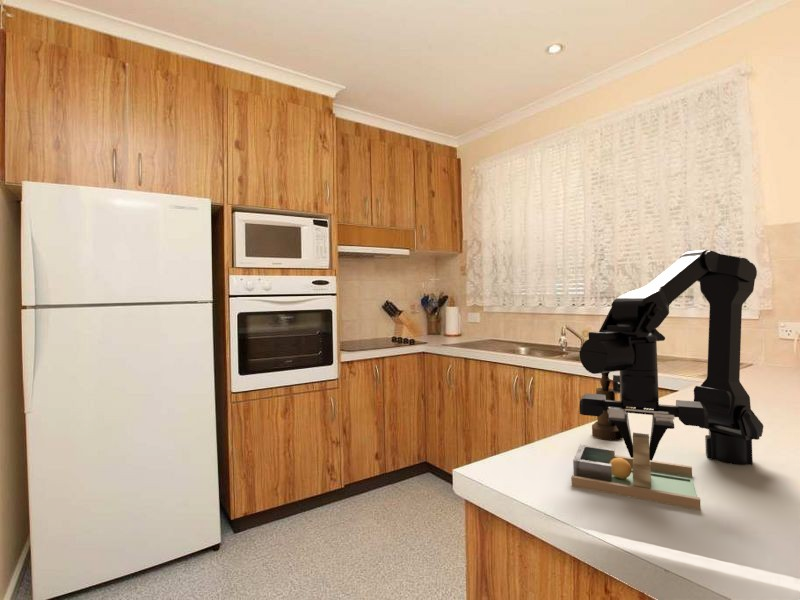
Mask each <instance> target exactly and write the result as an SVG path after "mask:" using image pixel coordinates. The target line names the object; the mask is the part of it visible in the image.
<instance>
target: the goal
mask: <svg viewBox="0 0 800 600" xmlns="http://www.w3.org/2000/svg"><path fill="white" fill-rule="evenodd" d="M615 451H616V448H610V447H601V446H596V445H588V444H581V443H580V444H579V446H578V449H577V451H576V453H575V455H574V458H573V460H572V462H573V463H572V464H573V476H579V477H585V478H590V479H596V480H602V481H608V482H612V464H609V463H610V461H611V460H612V459H614V458H615V455H616V452H615Z"/></svg>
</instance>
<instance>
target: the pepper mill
mask: <svg viewBox="0 0 800 600" xmlns="http://www.w3.org/2000/svg"><path fill="white" fill-rule="evenodd" d="M610 373H611V372H606V373H600V374H601V378H599V382H600V387H597V388H595V394H602V395H605V397H606V400H611V401H616V393H614V392H613V387H612V388H611V387H610V384H611V378H610V376H609V374H610ZM608 416H609V413H608V411H604V413H602V414H601V415H600V416H599V417H598V416H596V417H597V418H596V419H597V421H595V422H594V423H592V425H591V434H592V436H593V437H594V438H596V439H598V440H604V441H619V440H623V437H622V435H621V434H620V432H619V430H618V429H617V427H616V425H615V424H614V423H611V422H608Z"/></svg>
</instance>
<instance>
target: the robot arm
mask: <svg viewBox="0 0 800 600" xmlns="http://www.w3.org/2000/svg"><path fill="white" fill-rule="evenodd" d="M757 274H758V270H757V266H756V265H755V264H754V263H752V262H751V261H750V260H749V259H748V258H746V257H740V256H735V255H734V256H733V255H729V254H723V253H719V252H717V251H714V250H710V249H701V250H693V251H686V252H684V253H683V254H681V255H680V256H679V258H678V259H677V260H676V261H675V262H674V263H672V264H671V265H670V266H669V267H667V268H666V269H665V270H664V271H663V272H661V273H660V274H658V275H657V277H655V278H654V279H653V280H651V281H650V282H649V283H647V285H645V286H643V287H640V288H637V289H633V290H630V291H628V292H626V293H624V294H621V295H619V296H617V297H616V298H615V299H614V300H613V301H612V302H611V304H610V305H611V308H610V309H609V312H608V313H607V316H606V317H605V319H604V321H603V322H602V325H601V327H600V329H599V331H589V332H588V339H587V340H586V341H584V342H583V343H582V344H581V345H582V346H581V348H580V350H579V361H580V363H581V365H582V367H583V368H584V370H586V371H587V372H588V373H591V374H594V375H597V374H601V373H606V372H610V373H612V372H619V375H616V374H613V375H612V389H613V392H614V393H615V394H620V400H615V401H611V400H606V397H605V395H602V394H596V393H586V392H585V393H584V394H583V395H582V396H581V398H580V400H579V414H580V415H581V416H588V417H590V416H591V417H597V416H598V417H599V416H600V415H601V414H602V413H604V411H608V413H609V416H608V422H611V423H614V424H615V425H616V427H617V429H618V430H619V432H620V434H621V435H622V437H623V438H622V440H623V442H624V444H625V447H626V449H627V452H628V454H629V457H631V458H633V436H632V434H631V433H632V432H631V428H630V420H629V414H638V415H648V416H652V419H651V420H652V421H651V431H650V436H649V456H650V460H652V461H654V460H653V459H654V457H655V455H656V452H657V449H658V447H659V444H660V442H661V440H662V438H663V437H664V435H665V433H666V432H667V430H670V429H671V430H674V429H675V422H674V420H675V418H678V420H679V421H680V422H681V423H682V424H683V425H684V426H691V427H692V426H693V427H698V428H700V429H706V430H708V434H706V435H705V436H704V437H705V438H704V440H705V441H704V442H705V444H704V445H705V456H706V458H707V459H708V460H714V461H718V462H720V463H724V464H728V465H733V466H735V465H737V466H745V465H750V466H753V465H754V463H753V461H754V460H753V440H757V441H758V440H760V438H761V437H762V435H763V432H764V424H763V423H762V421H761V420H760V419H759V417H758V416H757V415H756V414H755V412H754V411H753V410H752V409H751V407H752V406H751V405H752V404H751V397H750V394H748V392H747V391H746V389H745V388H744V386H743V384H742V383H741V382H740V376H741V375H740V374H741V373H740V370H741V366H740V365H741V344H742V343H741V341H742V340H741V339H742V317H743V316H742V315H743V311H742V310H743V305H744V304H745V302H746V301H747V300H748V299H749V298H750V296H751V295H752V294H753V292H754V289H755V288H754V287H755V281H756V279H757V276H758V275H757ZM696 282H698V283H699V289H700V293H702V295H703V297H704V299H705V300H706V301H707V303H708V305H709V310H708V311H709V312H708V313H709V319H708V339H707V340H708V344H707V369H706V370H707V373H706V375H707V376H706V378H705V379H704V381H703V382H702V383H701V385H695V386H694V389H693V400H681V399H679V400H678V399H676V400H675V405H673V404H672V405H671V404H660V402H659V401H660V400H659V376H658V375H659V371H658V346H657V342H663V341H665V340H666V337H665V335H663V334H662V333H661V332H659V331H658V329H657V328H659V327H660V326H661V324H662V323H663V322H664V321H665V319H666V318H667V317H668V316H669V314H670V305H671V304H672V303H673V302H674V301H675V300H676V299H678V297H680V296H681V295H683V293H685V292H686V291H687V290H688V289H690V288H691V287H692V286H693V285H694V284H695V283H696Z"/></svg>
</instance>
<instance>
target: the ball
mask: <svg viewBox="0 0 800 600" xmlns="http://www.w3.org/2000/svg"><path fill="white" fill-rule="evenodd" d="M609 464H612V474H613V475H614V476H615V477H617V478H619V479H625V478H627V477H629V476H630V474H631V466H630V464H629V463H628V462H627V461H626V460H625V459H623V458H614V459H612V460H611V461H610V463H609Z"/></svg>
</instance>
